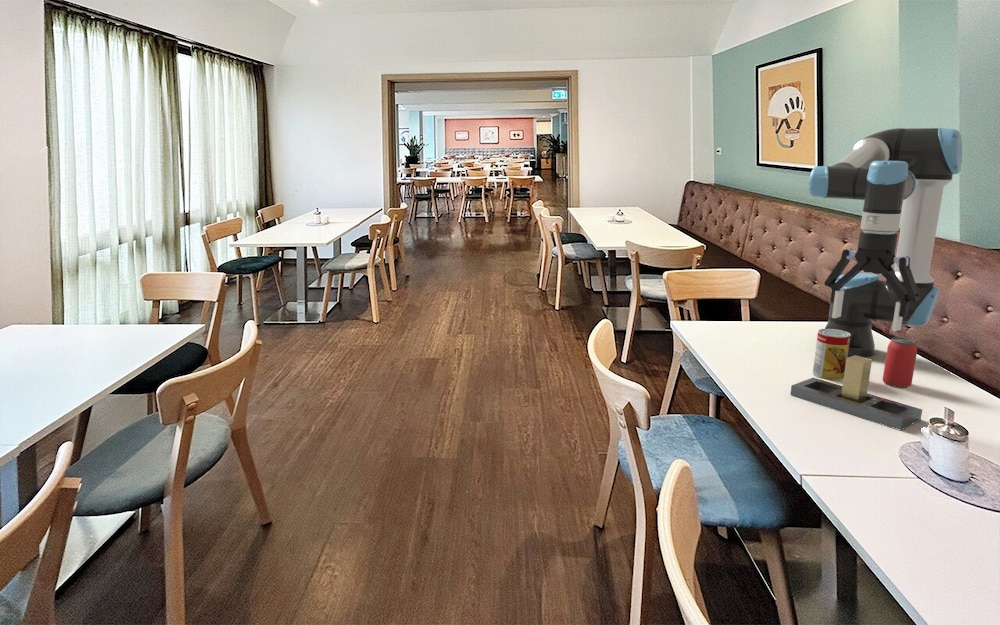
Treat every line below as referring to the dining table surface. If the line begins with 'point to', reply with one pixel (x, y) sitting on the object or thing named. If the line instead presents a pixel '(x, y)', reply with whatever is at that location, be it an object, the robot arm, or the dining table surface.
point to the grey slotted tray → (857, 404)
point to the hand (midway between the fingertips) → (865, 323)
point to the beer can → (900, 362)
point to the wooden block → (856, 378)
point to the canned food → (831, 354)
